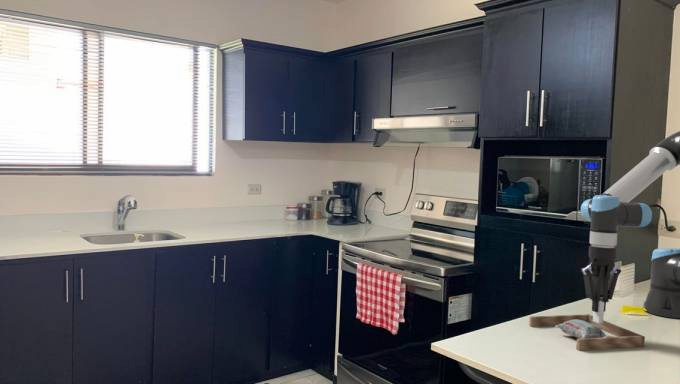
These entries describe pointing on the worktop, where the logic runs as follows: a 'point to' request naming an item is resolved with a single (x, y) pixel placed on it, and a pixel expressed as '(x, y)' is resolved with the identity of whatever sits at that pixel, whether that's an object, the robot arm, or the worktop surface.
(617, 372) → the worktop surface
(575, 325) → the packaged food
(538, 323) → the wooden frame
